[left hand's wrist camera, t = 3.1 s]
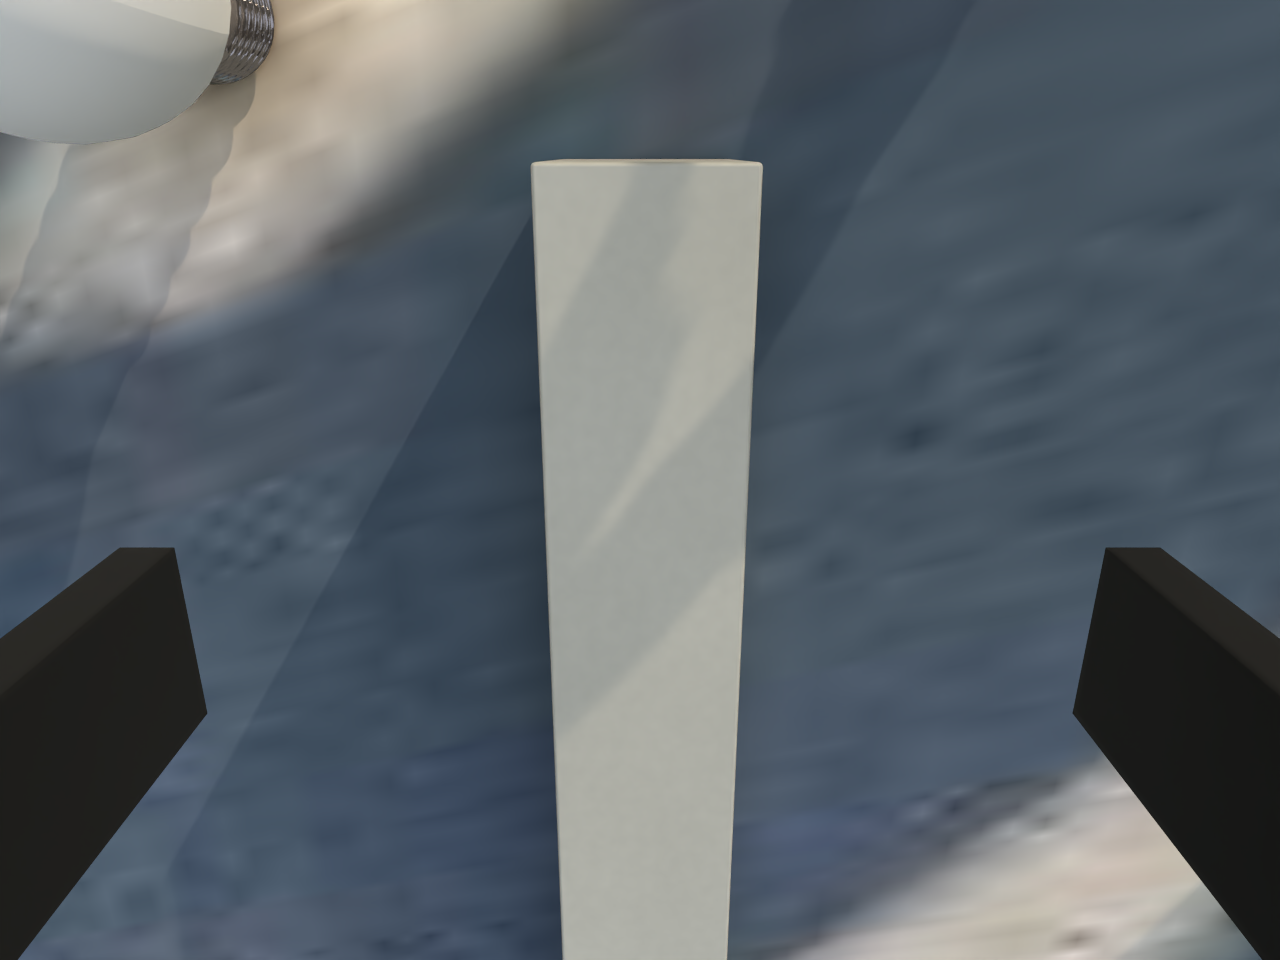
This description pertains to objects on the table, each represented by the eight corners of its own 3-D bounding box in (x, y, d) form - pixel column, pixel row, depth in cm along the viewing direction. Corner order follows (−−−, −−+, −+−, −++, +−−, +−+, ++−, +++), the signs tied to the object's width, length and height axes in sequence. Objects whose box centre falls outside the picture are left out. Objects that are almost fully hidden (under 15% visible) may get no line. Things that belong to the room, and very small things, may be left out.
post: (559, 159, 26) (529, 162, 19) (732, 159, 26) (763, 162, 19) (593, 1284, 44) (583, 1492, 37) (693, 1284, 44) (702, 1492, 37)
